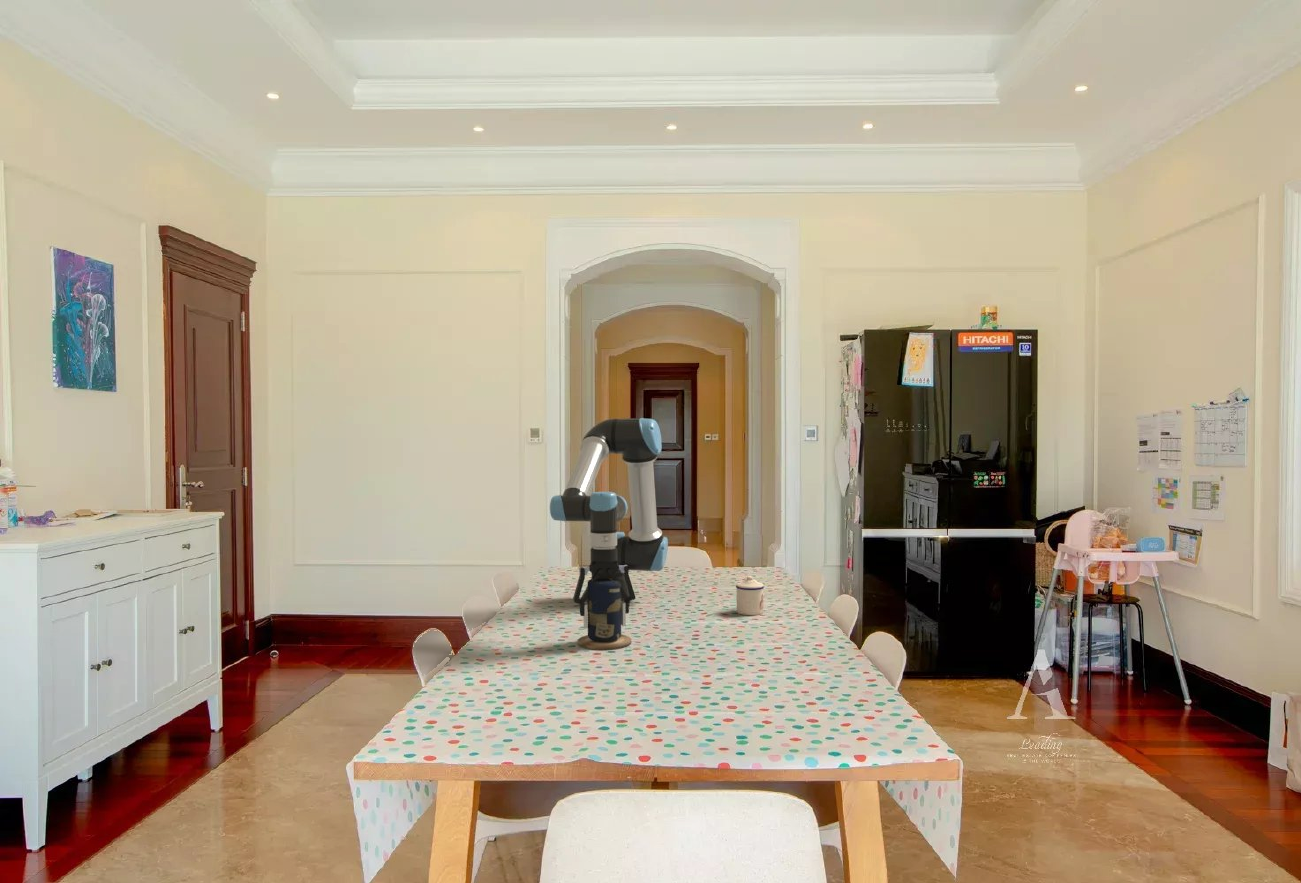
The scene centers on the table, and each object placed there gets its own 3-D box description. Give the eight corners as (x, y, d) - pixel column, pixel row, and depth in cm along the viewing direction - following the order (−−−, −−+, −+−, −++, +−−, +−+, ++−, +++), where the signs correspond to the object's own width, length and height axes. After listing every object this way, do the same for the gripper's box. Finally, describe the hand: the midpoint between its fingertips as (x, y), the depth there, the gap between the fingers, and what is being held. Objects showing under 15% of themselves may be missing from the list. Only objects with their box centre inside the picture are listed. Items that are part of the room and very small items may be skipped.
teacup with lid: (766, 615, 266) (766, 579, 266) (738, 616, 266) (737, 579, 266) (759, 607, 278) (759, 572, 278) (732, 607, 278) (732, 572, 278)
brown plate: (566, 644, 234) (566, 641, 234) (601, 633, 245) (601, 630, 245) (607, 653, 224) (607, 649, 224) (642, 641, 236) (642, 638, 236)
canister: (606, 633, 242) (605, 571, 241) (628, 639, 235) (628, 575, 234) (580, 639, 235) (580, 575, 235) (602, 646, 228) (602, 580, 228)
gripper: (565, 550, 228) (565, 632, 229) (646, 547, 233) (646, 627, 234) (562, 546, 236) (562, 625, 236) (640, 543, 240) (641, 620, 241)
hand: (604, 626), depth 235 cm, fingers open, 10 cm apart
